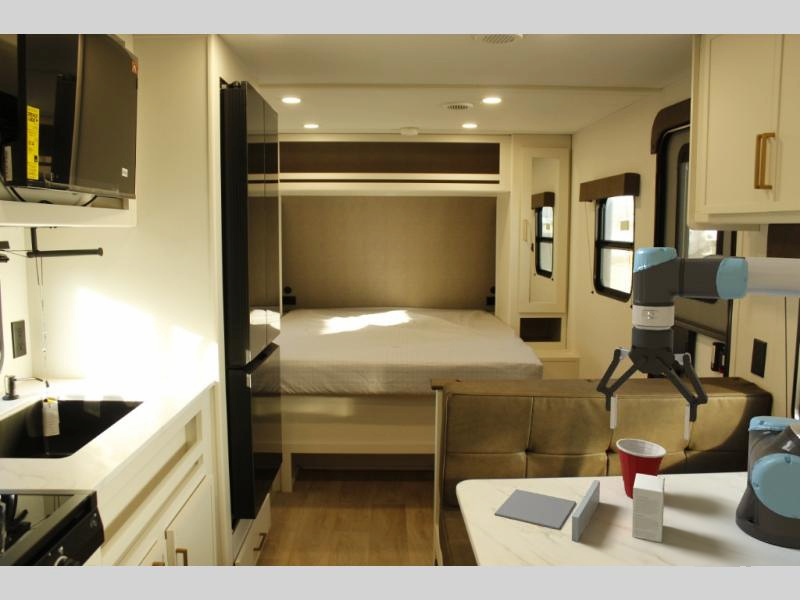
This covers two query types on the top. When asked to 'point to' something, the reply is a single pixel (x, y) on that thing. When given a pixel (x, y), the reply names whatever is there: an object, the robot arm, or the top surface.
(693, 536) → the top surface
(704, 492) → the top surface
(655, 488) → the small box
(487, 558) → the top surface
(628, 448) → the plastic cup
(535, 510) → the mat
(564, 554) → the top surface
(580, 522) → the low wall
